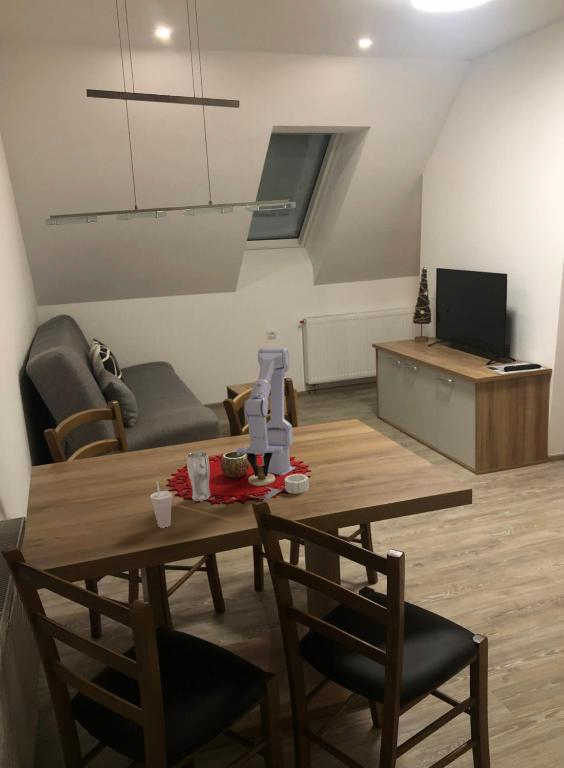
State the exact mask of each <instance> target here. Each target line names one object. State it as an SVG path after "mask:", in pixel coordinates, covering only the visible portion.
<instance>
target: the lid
mask: <svg viewBox="0 0 564 768" xmlns="http://www.w3.org/2000/svg"><path fill="white" fill-rule="evenodd" d="M257 475H258V476H255V474H253V475H250V476H249V477H248V483H249V484H250V485H251V486H252V485H253V486H266V485H271V484H273V483H274V482H275V481H276V476H275V475H274V474H273V473H269V472H268V475H267V476H265V466H264V465H263V464H259V465H258V464H257Z"/></svg>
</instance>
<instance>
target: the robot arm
mask: <svg viewBox="0 0 564 768" xmlns="http://www.w3.org/2000/svg"><path fill="white" fill-rule="evenodd" d="M257 362H258V364H259V367H260V368H259V375H258V380H255V381H254V382H253V386H252V389H251V393H250V395H249V398H248V399H246V400H245V402H244V405H243V406H244V407H243V410H244V412H243V413H244V416H245V419H246V422H247V423H248V437H249V445H250V446H244V447H237V448H236V455H237V456H241V455H246V460H247V461H248V463H249V464H250V466H251V468H252V471H253V473H254V474H253V475H255V476H258V475H257V466H258V455H261V458H262V459H261V460H262V461H261V462H262V465H264V466H265V476H267V475H268V473H269V474H273V475H274V474H275V475H279V476H284V475H286V474H288V473H290V472H292V471H294V470H296V467H295V466H291V460H290V459H291V458H290V447H291V446H292V445H293V442H294V432H293V426H292V424H291V423H290V422H289V421H288V420H286V419H285V373H287V372H289V370H290V352H289V349H288V348H287V347H269V348H264V347H260V348H259V350H258V351H257ZM269 397H270V420H269V421H267V415H268V413H269V411H268V410H269V400H268V399H269Z"/></svg>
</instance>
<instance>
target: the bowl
mask: <svg viewBox="0 0 564 768" xmlns="http://www.w3.org/2000/svg"><path fill="white" fill-rule="evenodd" d="M309 489H310V487H309V477H308V476H307V475H306V474H303V473H298V474H297V473H295V474H289V475H287V476H285V478H284V490H285V492H287V493H289V494H296V495H297V494H303V493H305V492H308V491H309Z"/></svg>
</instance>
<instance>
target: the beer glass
mask: <svg viewBox="0 0 564 768" xmlns="http://www.w3.org/2000/svg"><path fill="white" fill-rule="evenodd" d="M186 460H187V461H186V465H187V466H186V467H187V474H188V477H189V481H190V484H191V489H192V496H191V499H193V500H194V502H198V501H200V502H204V501H203V500H206V499H208V498H209V497H210V496H211V497H212V495H211V491H210V486H209V484H210V470H211V469H210V460H209V455H208V453H207V452H205V451H192V452H191V453H188V454H187V455H186ZM193 500H192V501H193ZM208 500H209V499H208ZM206 501H207V500H206Z"/></svg>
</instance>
